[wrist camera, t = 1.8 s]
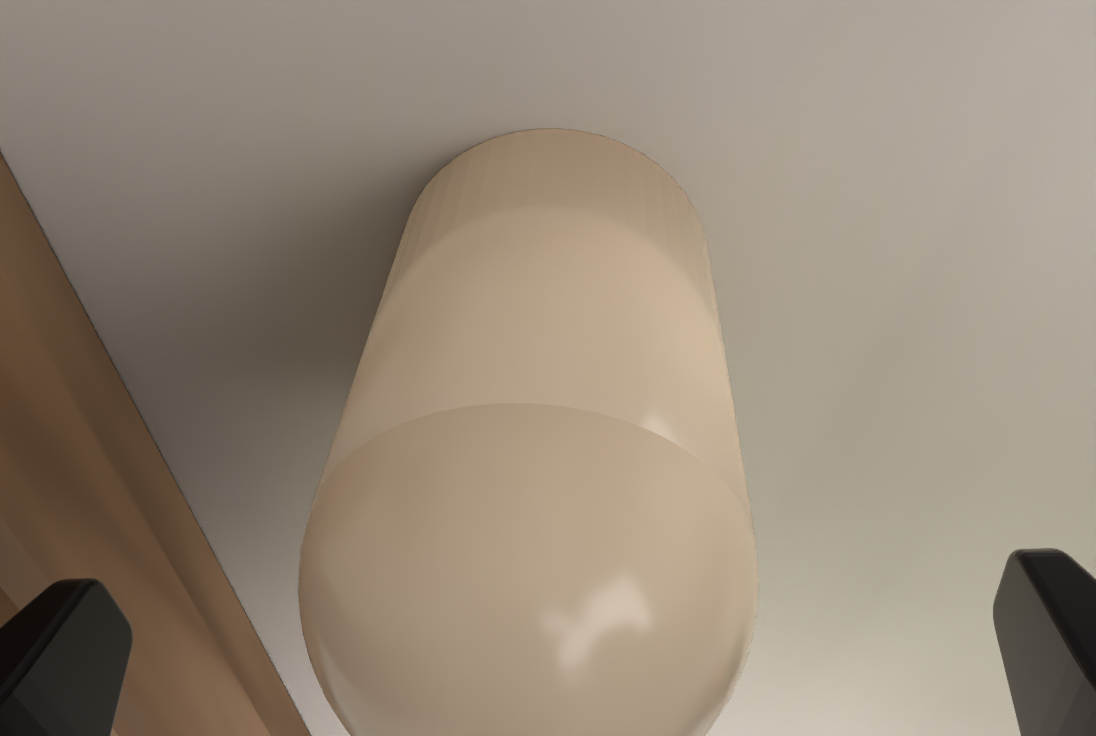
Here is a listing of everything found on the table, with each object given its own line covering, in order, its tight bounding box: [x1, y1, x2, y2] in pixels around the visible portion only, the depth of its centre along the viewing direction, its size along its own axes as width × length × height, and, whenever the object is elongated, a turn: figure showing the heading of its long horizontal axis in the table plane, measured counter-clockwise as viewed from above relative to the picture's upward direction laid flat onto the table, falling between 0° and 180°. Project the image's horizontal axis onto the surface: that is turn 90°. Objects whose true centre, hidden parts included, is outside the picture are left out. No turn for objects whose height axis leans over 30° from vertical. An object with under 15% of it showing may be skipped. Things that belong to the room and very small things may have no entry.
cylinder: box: [298, 129, 759, 736], centre depth 11 cm, size 5×5×8 cm
